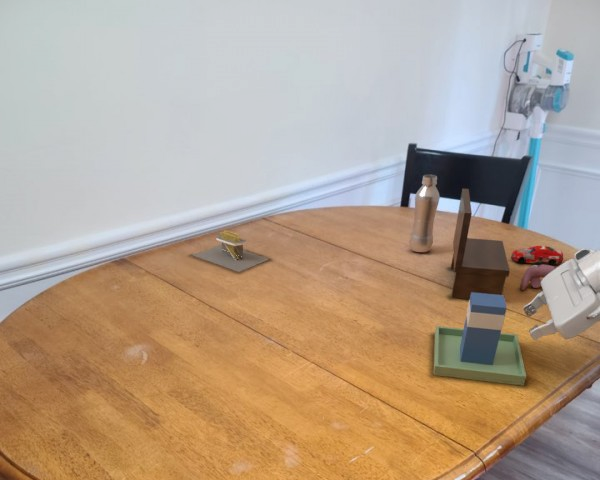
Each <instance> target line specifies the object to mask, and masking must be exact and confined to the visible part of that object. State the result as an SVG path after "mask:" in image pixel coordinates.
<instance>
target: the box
mask: <svg viewBox="0 0 600 480" xmlns="http://www.w3.org/2000/svg"><path fill="white" fill-rule="evenodd" d="M507 309H508V308H507V302H506V297H505V295H504V294H502V295H495V294H485V293H474V292H471V295H470V300H468V304H467V309H466V316H465V321H464V326H463V329H464V330H463V335H462V340H461V345H460V360H461V362H469V363H478V364H487V365H493V362H494V358H495V354H496V350H497V346H498V342H499V337H500V333H502V330H503V327H504V323H505V322H504V321H505V317H506V312H507Z"/></svg>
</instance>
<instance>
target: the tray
mask: <svg viewBox="0 0 600 480" xmlns="http://www.w3.org/2000/svg"><path fill="white" fill-rule="evenodd" d="M463 330H464V328H459V327H451V326H441V325H435V331H434V345H433V346H434V349H433V376H440V377H447V378H457V379H465V380H473V381H481V382H482V381H483V382H489V383H498V384H508V385H515V386H525V383H526V379H527V374H526V368H525V364H524V358H523V354H522V349H521V345H520V341H519V337H518V334H516V333H515V334H514V333H507V332H501V333H500V337H499V342H498V346H497V350H496V354H495V358H494V362H493V365H487V364H478V363H469V362H461V360H460V345H461V340H462V335H463Z"/></svg>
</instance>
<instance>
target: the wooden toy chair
mask: <svg viewBox="0 0 600 480" xmlns="http://www.w3.org/2000/svg"><path fill="white" fill-rule="evenodd" d="M471 205H472V204H471V196H470V189H469V188H461V194H460V201H459V206H458V212H457V218H456V224H455V230H454V235H453V241H452V247H453V248H452V251H453V254H452V260H451V265H450V269H451V270H453V273H455V274H454V280H453V285H452V291H451V299H458V300H468V301H469V300H470V295H471V292H474V293H485V294H495V295H503V292H504V286H505V283H506V278H507V277H509V276H510V273H511V272H510V271H511V270H510V265H509V262H508V258H507V254H506V249H505V245H504V241H503V240H495V239H486V238H485V239H484V238H471V237H468V235H469V230H470V224H471V219H472V215H473V214H472V213H473V212H472V206H471Z"/></svg>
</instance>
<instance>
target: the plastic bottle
mask: <svg viewBox="0 0 600 480" xmlns="http://www.w3.org/2000/svg"><path fill="white" fill-rule="evenodd" d="M437 181H438V176H437V175H435V174H424V175H423V176H422V181H421V184H422V185H421V187H420V188H419V189H418V190H417V192H416V193H415V196H414V219H413V224H412V229H411V233H410V236H409V239H408V247H409V249H410V250H411V251H413V252H414V253H415V252H416V253H427V252H429V251H430V250H432V247H433V244H434V235H433V234H434V223H435V218H436V213H437V210H438V206H439V203H440V199H441V198H440V196H441V195H440V192H439V190H438V188H437V186H436V185H437V184H438V182H437Z"/></svg>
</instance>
